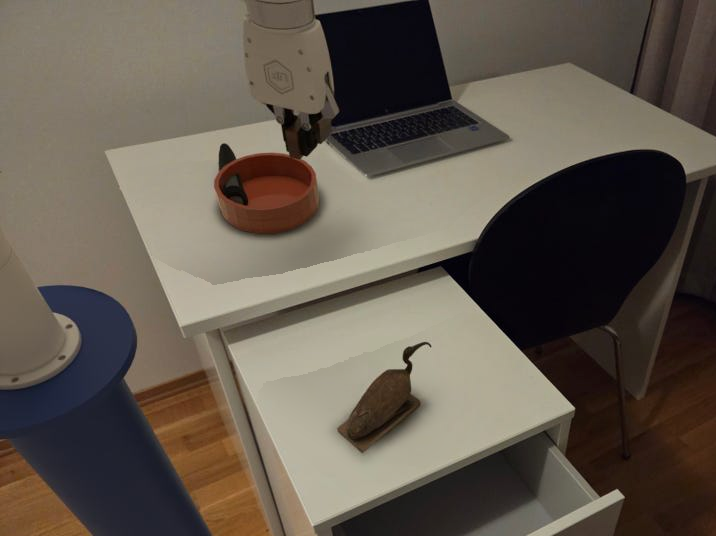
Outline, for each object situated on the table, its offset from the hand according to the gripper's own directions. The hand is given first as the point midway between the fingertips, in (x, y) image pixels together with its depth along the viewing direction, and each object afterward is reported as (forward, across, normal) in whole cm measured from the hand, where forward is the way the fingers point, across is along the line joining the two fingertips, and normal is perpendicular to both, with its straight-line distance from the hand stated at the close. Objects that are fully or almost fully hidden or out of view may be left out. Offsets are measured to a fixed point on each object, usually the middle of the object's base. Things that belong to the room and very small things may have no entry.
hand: (301, 148), depth 88 cm
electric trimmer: (+15, -18, +6) cm, 24 cm away
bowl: (+15, -10, +4) cm, 18 cm away
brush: (0, 0, +2) cm, 3 cm away
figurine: (+15, +24, -27) cm, 39 cm away
